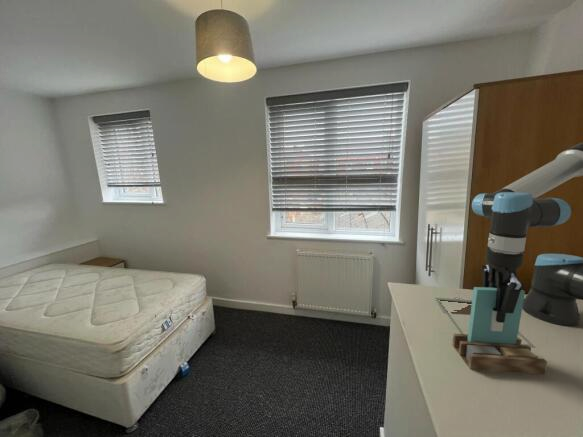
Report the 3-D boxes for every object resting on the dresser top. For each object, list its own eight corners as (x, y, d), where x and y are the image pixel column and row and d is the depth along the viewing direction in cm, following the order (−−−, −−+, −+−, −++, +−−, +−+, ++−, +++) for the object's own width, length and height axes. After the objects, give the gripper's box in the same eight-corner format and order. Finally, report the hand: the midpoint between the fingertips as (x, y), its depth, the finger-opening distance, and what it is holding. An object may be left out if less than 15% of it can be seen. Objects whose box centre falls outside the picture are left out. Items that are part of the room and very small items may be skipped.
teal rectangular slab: (511, 345, 72) (520, 288, 69) (515, 349, 71) (525, 291, 67) (466, 342, 74) (473, 287, 70) (470, 346, 72) (477, 289, 69)
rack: (516, 352, 74) (518, 337, 73) (543, 378, 64) (547, 361, 64) (451, 347, 76) (453, 333, 75) (469, 372, 67) (471, 356, 66)
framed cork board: (465, 340, 78) (432, 294, 107) (464, 344, 78) (432, 297, 107) (537, 348, 74) (482, 298, 103) (536, 352, 74) (482, 301, 103)
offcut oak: (525, 361, 69) (527, 348, 68) (534, 369, 66) (537, 356, 65) (498, 359, 70) (500, 347, 69) (505, 367, 67) (508, 354, 66)
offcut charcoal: (492, 359, 70) (494, 346, 69) (499, 367, 67) (501, 354, 66) (465, 357, 71) (467, 344, 70) (471, 365, 68) (473, 352, 67)
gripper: (473, 241, 74) (464, 312, 79) (509, 259, 60) (496, 344, 64) (500, 242, 73) (490, 313, 78) (544, 259, 59) (528, 346, 63)
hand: (493, 327), depth 71 cm, fingers closed on teal rectangular slab, 2 cm apart
